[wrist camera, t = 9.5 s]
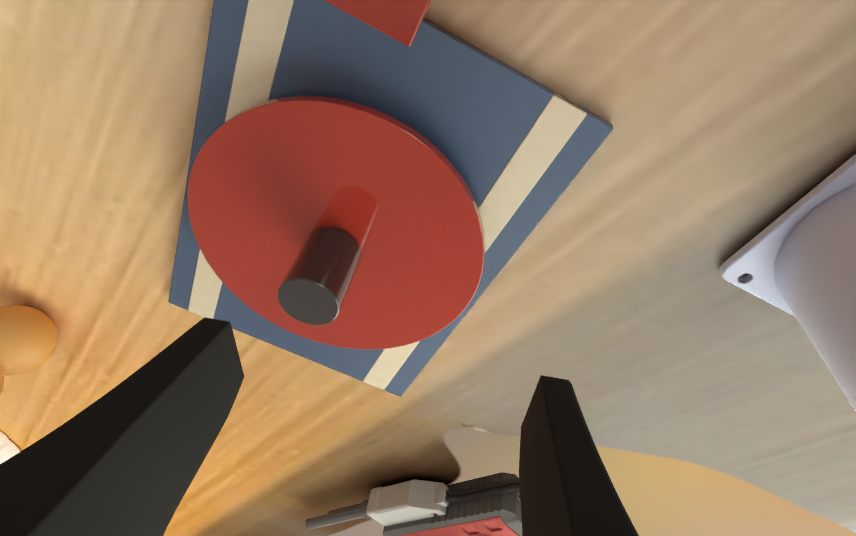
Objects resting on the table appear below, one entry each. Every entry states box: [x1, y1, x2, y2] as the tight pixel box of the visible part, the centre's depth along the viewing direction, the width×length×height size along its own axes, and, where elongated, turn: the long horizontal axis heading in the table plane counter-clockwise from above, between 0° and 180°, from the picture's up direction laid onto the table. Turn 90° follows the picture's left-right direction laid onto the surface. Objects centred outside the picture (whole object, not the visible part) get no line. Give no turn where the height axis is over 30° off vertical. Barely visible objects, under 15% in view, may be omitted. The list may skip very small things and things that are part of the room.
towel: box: [169, 0, 613, 396], centre depth 22 cm, size 14×19×1 cm
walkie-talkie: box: [306, 473, 522, 536], centre depth 36 cm, size 9×4×20 cm
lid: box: [187, 96, 485, 350], centre depth 20 cm, size 13×13×4 cm
